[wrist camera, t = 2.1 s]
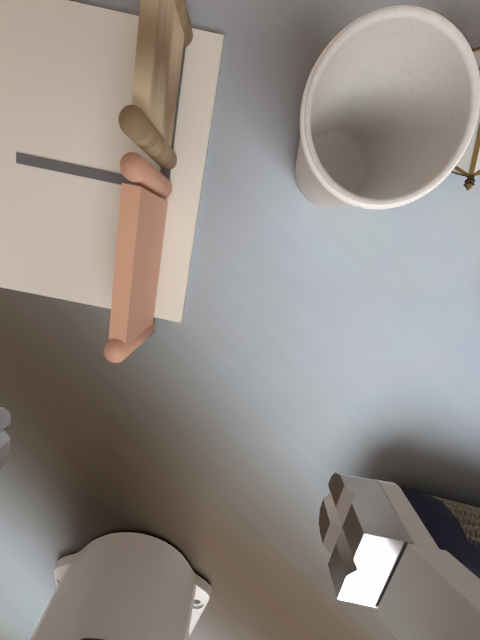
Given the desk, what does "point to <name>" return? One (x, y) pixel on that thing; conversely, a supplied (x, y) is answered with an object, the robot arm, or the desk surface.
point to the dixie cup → (387, 110)
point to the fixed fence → (157, 78)
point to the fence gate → (137, 256)
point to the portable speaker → (450, 526)
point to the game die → (471, 148)
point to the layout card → (89, 150)
